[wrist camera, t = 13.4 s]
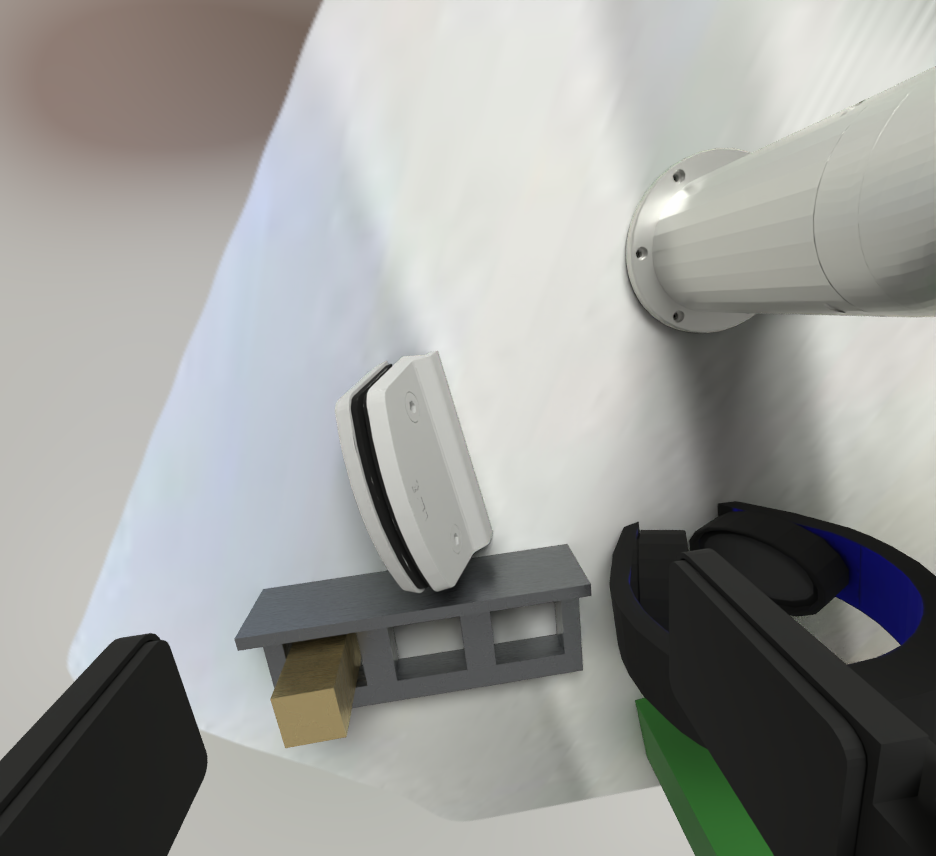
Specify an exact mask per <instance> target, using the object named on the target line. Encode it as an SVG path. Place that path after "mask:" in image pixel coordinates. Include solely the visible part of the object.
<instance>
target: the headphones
mask: <svg viewBox="0 0 936 856" xmlns="http://www.w3.org/2000/svg"><path fill="white" fill-rule="evenodd" d="M718 510H719V517H717V518H715V519H714V520H712V521H711V522H709V523H708V524H706V525H705V526H703V527H702V528H700V529H698V530H697V531H695V533H694V534H693V536H692V537H691V539H690V540H689V543H690V551H694V550H701V549H707V548H708V549H712V550H714V551H716V552H717V553H718V554H719V555H720V556H721V557H722V558H724V559H725V560H726V561H727V562H728V563H729V564H731V565H732V566H733V567H734V568H735V569H736V570H737V571H739V572H740V573H741V574H742V575H743V576H744V577H746V578H747V579H748V580H749V581H750V582H751V583H753V584H754V585H755V586H756V587H757V588H758V589H759V590H761V591H762V592H763V593H764V594H765V595H766V596H768V597H769V598H770V599H771V600H772V601H773V602H774V603H776V604H777V605H778V606H779V607H780V608H781V609H783V610H784V611H785V612H786V613H787V614H788V615H790V616H796V617H797V616H805V615H813V614H816V613H817V612H819V611H820V610H821V609H822V608H823V607H824V606H826V605H827V604H828V603H829V602H830V601H831V600H832V599H833V598H834V597H837V598H839V599H841V600H843V601H845V602H846V603H848V604H850V605H852V606H853V607H855V608H857V609H859V610H860V611H862V612H863V613H864V614H866V615H867V616H869V617H870V618H872V619H873V620H874V621H876V622H877V623H878V624H880V625H881V626H882V627H883V628H884V629H885V630H886V631H887V632H888V633H889V634H890V635H891V636H892V637H893V638H894V639H895V640H896V641H897V642H898V643H899V644H900V645H901V646H899V647H897V648H895V649H894V650H892V651H890V652H888V653H886V654H883V655H881V656H879V657H877V658H873V659H869V660H865V661H861V662H857V663H852V664H848V665H847V666H848V667H850V668H851V669H852V670H853V671H854V672H855V673H857V674H858V675H859V676H860V677H861V678H862V679H864V680H865V681H866V682H867V683H868V684H869V685H870V686H872V687H873V688H874V689H875V690H876V691H877V692H879V693H880V694H881V695H882V696H883V697H884V698H885V699H887V700H888V701H889V702H890V703H891V704H892V705H894V706H895V707H896V708H897V709H898V710H899V711H901V712H902V713H903V714H904V715H905V716H906V717H907V718H909V719H910V720H911V721H912V722H913V723H914V724H916V725H917V726H918V727H919V728H920V729H921V730H922V731H924V732H925V733H926V734H927V735H928V736H929V740H930V741H931V742H933V743H934V744H935V745H936V576H935V575H934V574H932V573H931V572H930V571H929V570H928V569H926V568H925V567H924V566H923V565H921V564H920V563H919V562H917V561H916V560H914V559H912V558H911V557H909V556H907V555H906V554H904V553H902V552H901V551H899V550H897V549H895V548H894V547H892V546H890V545H888V544H886V543H884V542H882V541H880V540H878V539H875V538H873V537H871V536H869V535H866V534H864V533H861V532H859V531H856V530H853V529H851V528H848V527H844V526H840V525H837V524H833V523H829V522H826V521H822V520H818V519H814V518H811V517H807V516H803V515H800V514H796V513H792V512H787V511H782V510H777V509H772V508H767V507H761V506H756V505H751V504H746V503H741V502H728V503H719V504H718ZM687 551H688V545H687V537H686V532H685V531H684V530H641V531H640V530H639V522H636V523H634V524H631V525H628V526H626V527H624V528H623V531H622V533H621V536H620V538H619V541H618V543H617V546H616V548H615V550H614V553H613V558H612V566H611V575H610V591H611V598H612V605H613V612H614V619H615V626H616V634H617V641H618V646H619V650H620V654H621V658H622V660H623V663H624V665H625V667H626V669H627V671H628V673H629V675H630V677H631V678H632V680H633V681H634V683H635V684H636V686H637V687H638V689H639V690H640V692H641V693H642V695H643V696H644V697H645V698H646V699H647V700H648V701H649V702H650V703H651V704H652V705H653V706H654V707H655V708H656V709H657V710H658V711H659V712H660V713H661V714H662V715H663V716H664V717H665V718H666V719H667V720H668V721H669V722H670V723H671V724H672V725H673V726H675V727H676V728H677V729H678V730H679V731H680V732H681V733H683V734H684V735H686V736H687V737H689V738H690V739H692V740H693V741H694V742H696V743H697V744H699V745H700V746H702V747H704V748H706V746H705V744H704V743H703V741H702V740H701V738H700V736H699V735H698V733H697V732H696V730H695V728H694V727H693V725H692V724H691V722H690V720H689V719H688V717H687V716H686V714H685V712H684V711H683V709H682V708H681V706H680V704H679V703H678V701H677V699H676V698H675V696H674V693H673V691H672V688H671V684H670V679H669V565H670V563H671V562H675V561H676V558H677V556H678V554H679V553H681V552H687ZM706 749H707V748H706Z"/></svg>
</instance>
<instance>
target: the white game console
mask: <svg viewBox="0 0 936 856" xmlns="http://www.w3.org/2000/svg"><path fill="white" fill-rule="evenodd" d="M335 414H336V421H337V428H338V434H339V439H340V444H341V449H342V453H343V457H344V461H345V465H346V469H347V473H348V477H349V480H350V484H351V488H352V491H353V493H354V496H355V499H356V502H357V505H358V508H359V511H360V514H361V516H362V519H363V521H364V524H365V526H366V528H367V531H368V533H369V535H370V537H371V539H372V541H373V544H374V546H375V548H376V549H377V551H378V553H379V555H380V557H381V559H382V561H383V562H384V564H385V566H386V567H387V569H388V571H389V572H390V573H391V575H392V576H393V578H394V579H395V581H396V582H397V583H398V584H399V586H400V587H401V588H402V589H403V590H405V591H410V592H416V593H421V592H423V591H424V590H425V589H426V588H427V587H430V588H432V589H433V590H434V591H437V592H438V591H441V590H444V589H448V588H451V587H453V586H455V584H456V582H457V581H458V579H459V577H460V575H461V574H462V572H463V570H464V569H465V567H466V565H467V563H468V562H469V560H470V558H471V556H472V555H473V553H474V552H476V551H477V550H479V549H481V548H483V547H484V546H486V545H488V544H489V542H490V539H491V537H492V534H493V530H492V527H491V524H490V520H489V517H488V514H487V511H486V507H485V504H484V501H483V497H482V494H481V491H480V487H479V484H478V481H477V478H476V474H475V471H474V468H473V464H472V461H471V458H470V455H469V451H468V448H467V445H466V441H465V438H464V435H463V432H462V428H461V425H460V422H459V418H458V415H457V412H456V409H455V405H454V402H453V399H452V395H451V392H450V389H449V385H448V382H447V379H446V376H445V372H444V369H443V366H442V362H441V359H440V356H439V353H438V351H431V352H430V353H428V354H426V355H417V356H402V357H401V358H400V359H399V360H398V361H397V362H396V363H395V364H394V365H393V366H392V364H389V365H388V362H387V361H385V362H383V363H381V364H380V365H378V366H376V367H375V368H373V369H372V370H371V371H370V372H369V373H368V374H366V375H365V376H364V377H363V378H362V379H361V380H360V381H359V382H358V383H356V384H355V385H354V386H353V387H352V388H351V389H350V390H349V391H347V392H346V393H345V394H344V395H343V396H342V397H341V398H340V399H339V400H338V401H337V402H336V406H335Z"/></svg>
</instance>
